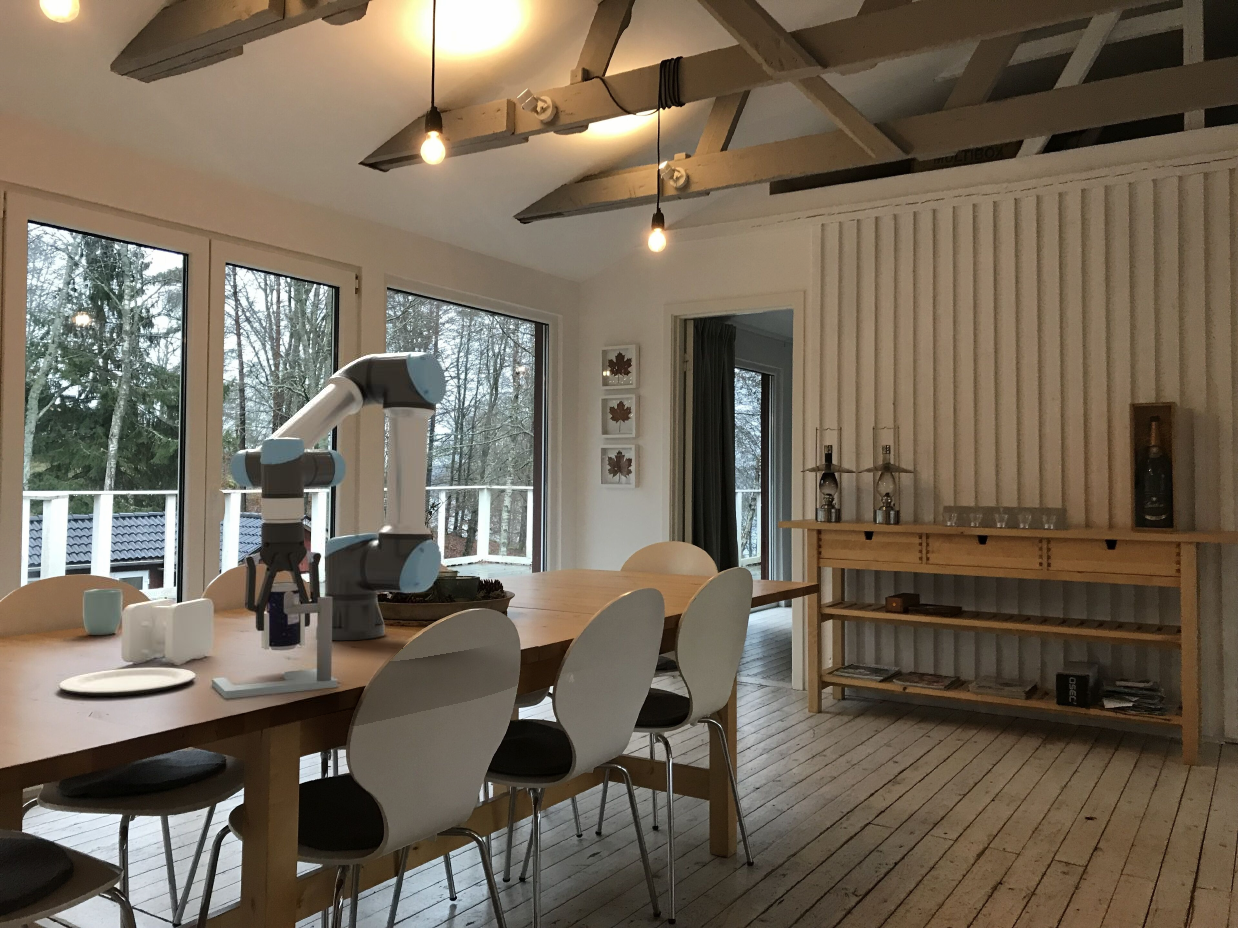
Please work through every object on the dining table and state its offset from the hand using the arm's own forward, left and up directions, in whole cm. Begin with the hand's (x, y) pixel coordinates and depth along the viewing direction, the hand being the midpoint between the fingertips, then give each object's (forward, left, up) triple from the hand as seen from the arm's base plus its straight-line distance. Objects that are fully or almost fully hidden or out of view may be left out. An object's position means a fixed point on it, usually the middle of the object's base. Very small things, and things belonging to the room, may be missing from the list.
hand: (283, 646), depth 179 cm
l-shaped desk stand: (+5, +13, -5) cm, 15 cm away
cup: (+25, -67, -5) cm, 71 cm away
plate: (+26, 0, -5) cm, 26 cm away
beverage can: (0, 0, -1) cm, 1 cm away
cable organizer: (+17, -23, -5) cm, 28 cm away
